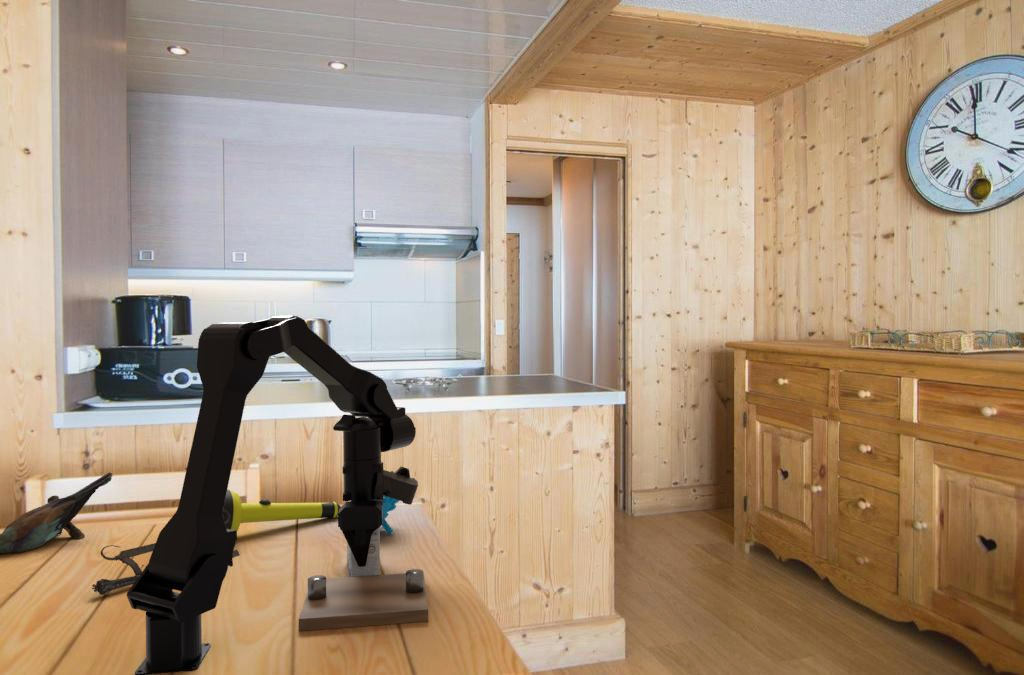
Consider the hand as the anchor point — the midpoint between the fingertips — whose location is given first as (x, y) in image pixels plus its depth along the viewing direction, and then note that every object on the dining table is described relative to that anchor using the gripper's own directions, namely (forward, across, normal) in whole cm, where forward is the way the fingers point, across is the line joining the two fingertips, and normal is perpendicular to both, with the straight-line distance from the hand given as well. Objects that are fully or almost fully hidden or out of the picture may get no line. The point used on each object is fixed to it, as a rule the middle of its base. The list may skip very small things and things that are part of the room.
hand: (363, 557), depth 108 cm
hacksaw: (+2, +4, +28) cm, 29 cm away
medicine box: (+2, 0, 0) cm, 2 cm away
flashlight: (+3, +24, +17) cm, 30 cm away
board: (+2, -14, -1) cm, 14 cm away
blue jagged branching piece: (+3, +20, 0) cm, 21 cm away
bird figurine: (-2, +32, +49) cm, 59 cm away
